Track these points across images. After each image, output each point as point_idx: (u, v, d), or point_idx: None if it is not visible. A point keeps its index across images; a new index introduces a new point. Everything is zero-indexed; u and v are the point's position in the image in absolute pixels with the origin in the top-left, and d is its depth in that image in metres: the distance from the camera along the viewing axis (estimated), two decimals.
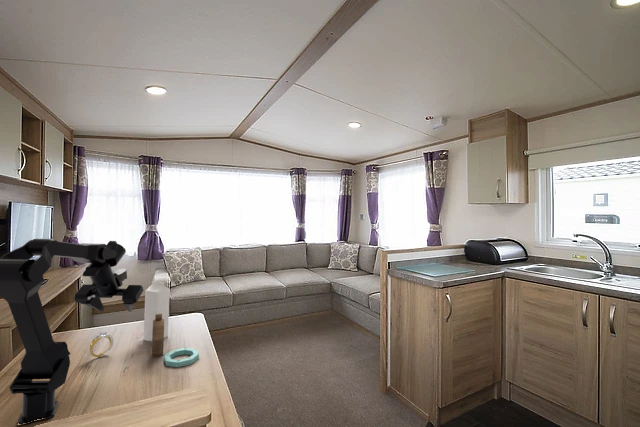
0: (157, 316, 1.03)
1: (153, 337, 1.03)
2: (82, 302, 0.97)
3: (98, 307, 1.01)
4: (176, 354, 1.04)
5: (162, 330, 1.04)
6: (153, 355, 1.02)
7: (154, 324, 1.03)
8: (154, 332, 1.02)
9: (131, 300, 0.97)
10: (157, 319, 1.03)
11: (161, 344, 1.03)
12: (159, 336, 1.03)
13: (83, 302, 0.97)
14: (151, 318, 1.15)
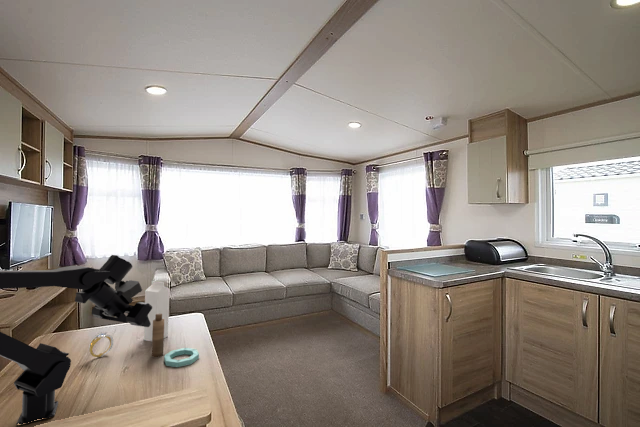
0: (157, 316, 1.03)
1: (153, 337, 1.03)
2: (99, 317, 0.92)
3: (120, 320, 0.96)
4: (176, 354, 1.04)
5: (162, 330, 1.04)
6: (153, 355, 1.02)
7: (154, 324, 1.03)
8: (154, 332, 1.02)
9: (134, 323, 0.87)
10: (157, 319, 1.03)
11: (161, 344, 1.03)
12: (159, 336, 1.03)
13: (100, 317, 0.92)
14: (150, 318, 1.15)
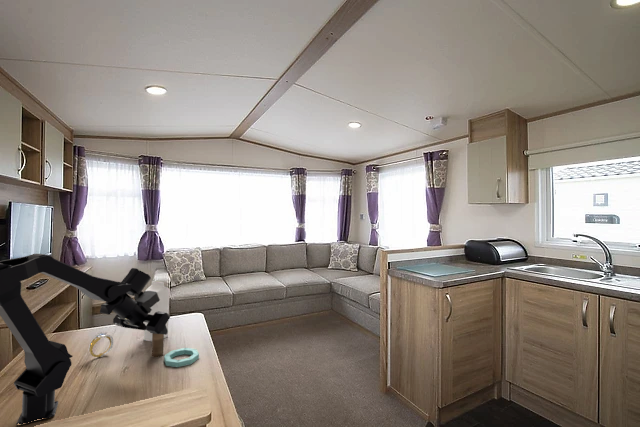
0: None
1: (153, 337, 1.03)
2: None
3: (139, 327, 1.02)
4: (176, 354, 1.04)
5: None
6: (153, 355, 1.02)
7: None
8: None
9: (154, 331, 0.93)
10: None
11: (161, 344, 1.03)
12: (159, 336, 1.03)
13: (121, 326, 0.99)
14: None
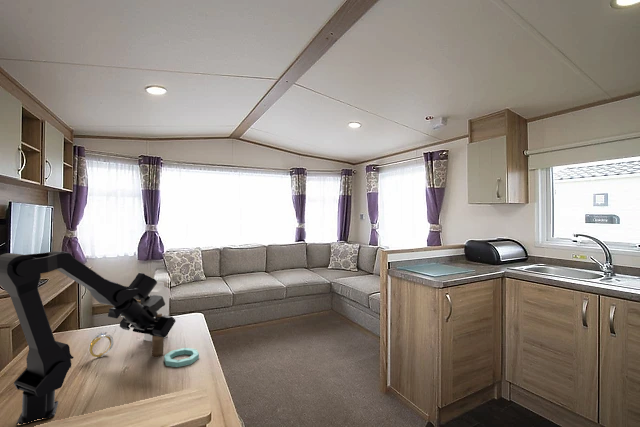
0: (157, 316, 1.03)
1: (153, 337, 1.03)
2: (127, 329, 1.01)
3: (150, 332, 1.04)
4: (176, 354, 1.04)
5: None
6: (153, 355, 1.02)
7: None
8: None
9: (160, 335, 0.95)
10: None
11: (161, 344, 1.03)
12: None
13: (127, 329, 1.01)
14: None
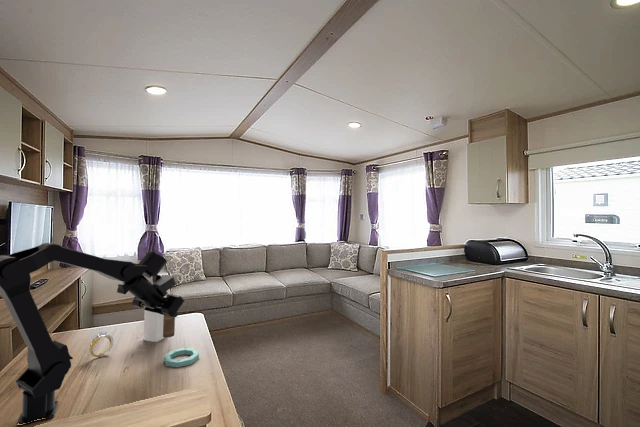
0: None
1: (164, 317, 1.02)
2: (139, 308, 1.01)
3: None
4: (176, 354, 1.04)
5: None
6: (164, 335, 1.02)
7: None
8: None
9: (168, 314, 0.94)
10: None
11: (172, 324, 1.03)
12: (170, 316, 1.02)
13: (140, 308, 1.01)
14: (150, 318, 1.15)
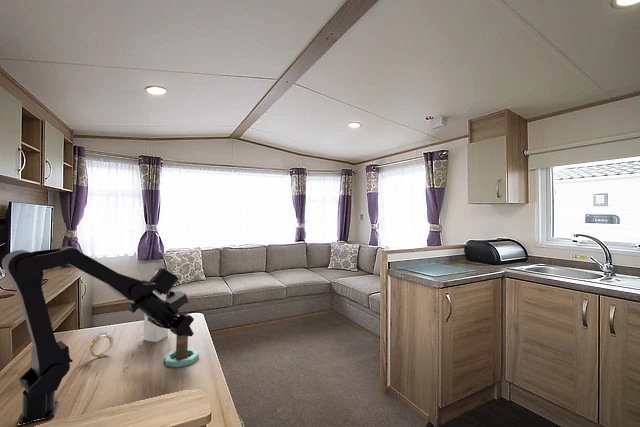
0: None
1: (177, 340, 1.01)
2: None
3: None
4: None
5: None
6: (176, 359, 1.00)
7: None
8: (177, 335, 1.00)
9: (176, 334, 0.92)
10: None
11: (184, 348, 1.01)
12: (182, 340, 1.00)
13: (154, 324, 1.01)
14: None
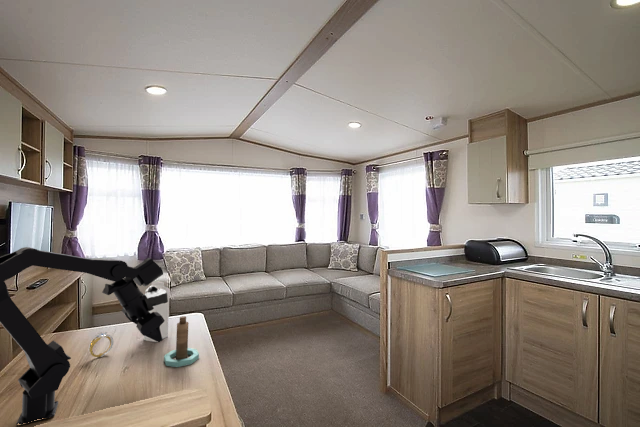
0: (181, 319, 1.01)
1: (177, 340, 1.01)
2: (126, 316, 0.95)
3: None
4: None
5: (185, 334, 1.01)
6: (176, 359, 1.00)
7: (177, 327, 1.00)
8: (177, 335, 1.00)
9: (140, 331, 0.84)
10: (181, 322, 1.01)
11: (184, 348, 1.01)
12: (182, 340, 1.00)
13: None
14: None
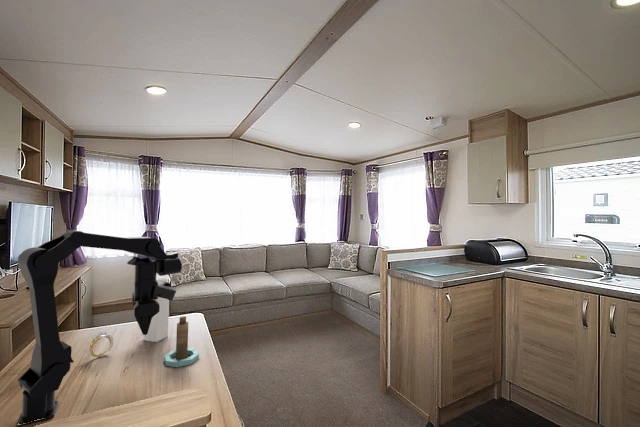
0: (180, 319, 1.01)
1: (177, 340, 1.01)
2: (132, 300, 0.97)
3: None
4: None
5: (185, 334, 1.01)
6: (176, 359, 1.00)
7: (177, 327, 1.00)
8: (177, 335, 1.00)
9: (134, 310, 0.85)
10: (180, 322, 1.01)
11: (184, 348, 1.01)
12: (182, 340, 1.00)
13: (132, 300, 0.97)
14: None
